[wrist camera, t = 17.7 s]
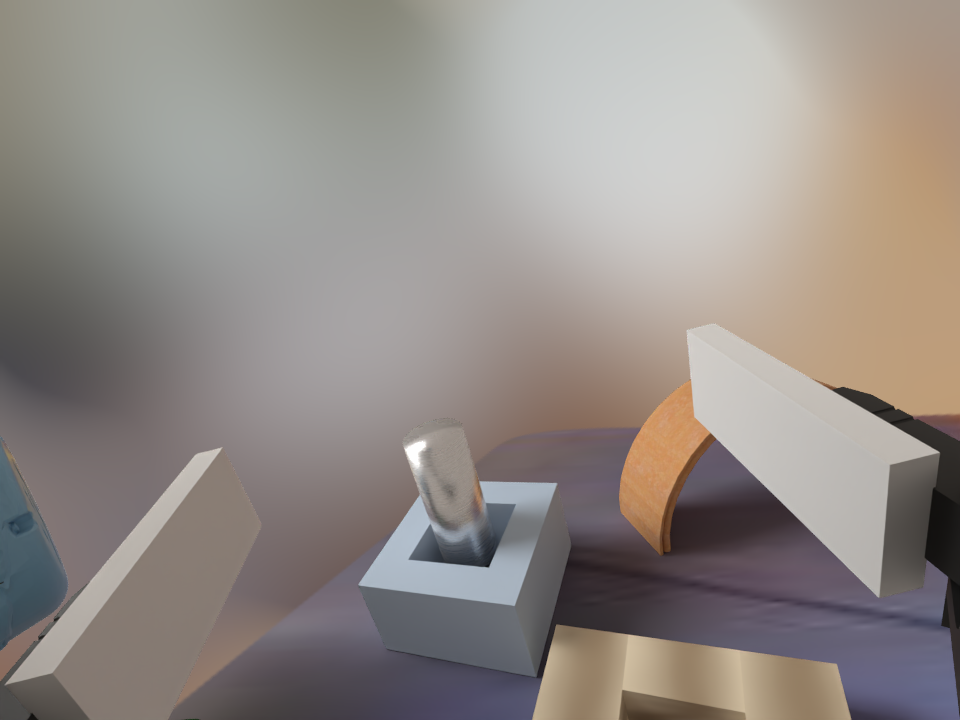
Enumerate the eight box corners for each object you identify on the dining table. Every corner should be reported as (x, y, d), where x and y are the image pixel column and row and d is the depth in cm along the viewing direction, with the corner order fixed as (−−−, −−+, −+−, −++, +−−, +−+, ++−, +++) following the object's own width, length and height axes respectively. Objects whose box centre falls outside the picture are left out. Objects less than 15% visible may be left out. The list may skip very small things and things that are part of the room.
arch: (882, 462, 40) (888, 348, 36) (660, 557, 37) (642, 442, 33) (818, 431, 45) (818, 328, 42) (619, 512, 42) (600, 408, 39)
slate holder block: (386, 648, 35) (358, 585, 33) (448, 536, 44) (429, 480, 42) (536, 677, 31) (514, 605, 29) (571, 545, 40) (557, 483, 38)
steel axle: (450, 613, 37) (391, 452, 32) (470, 571, 40) (419, 419, 35) (501, 620, 35) (447, 452, 30) (517, 575, 38) (471, 417, 33)
